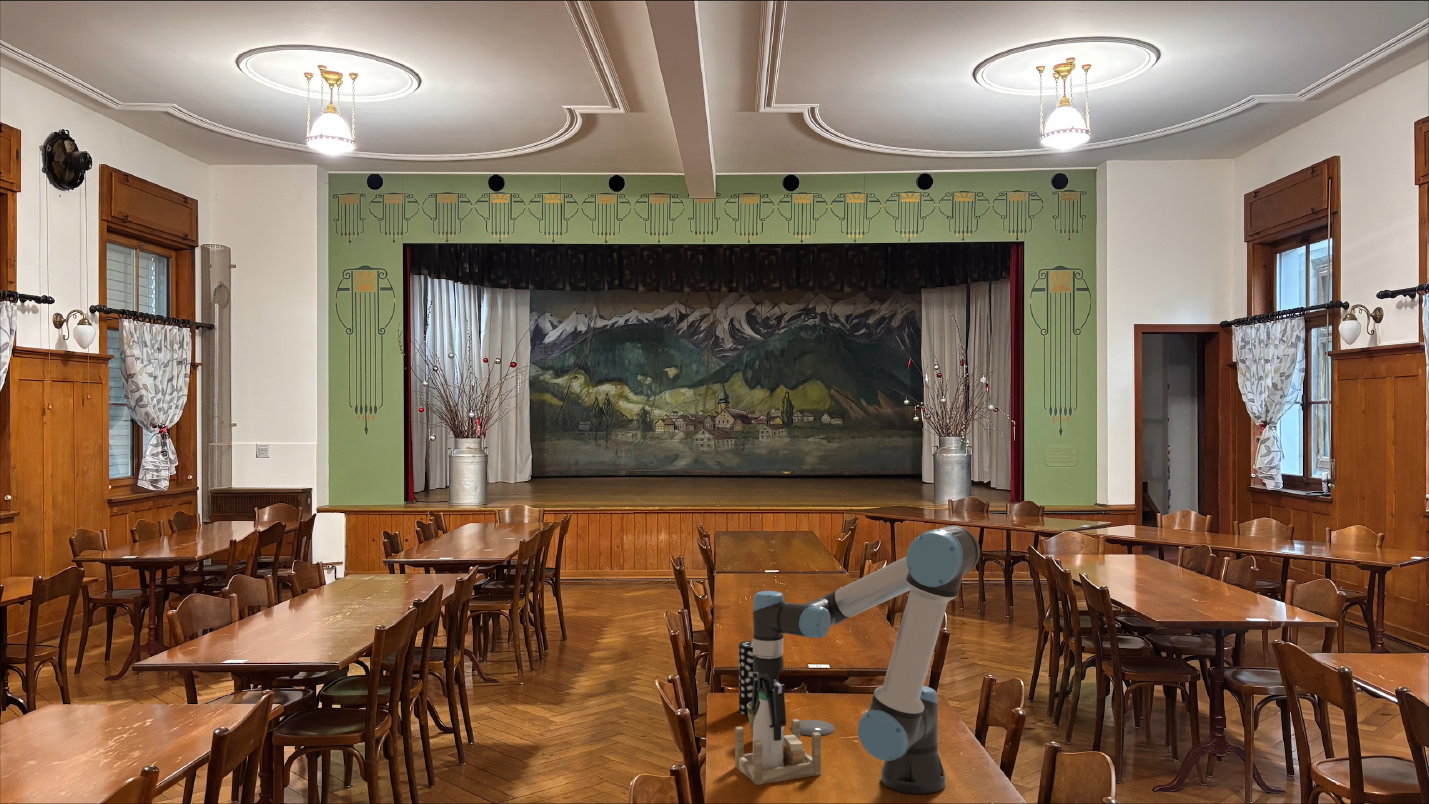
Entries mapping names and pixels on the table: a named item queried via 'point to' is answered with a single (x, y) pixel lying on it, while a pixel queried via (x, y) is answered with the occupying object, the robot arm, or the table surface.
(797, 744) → the offcut stack
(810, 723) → the grey round disc
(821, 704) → the table surface
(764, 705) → the milk bottle
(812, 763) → the rack
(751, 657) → the spotted tube
